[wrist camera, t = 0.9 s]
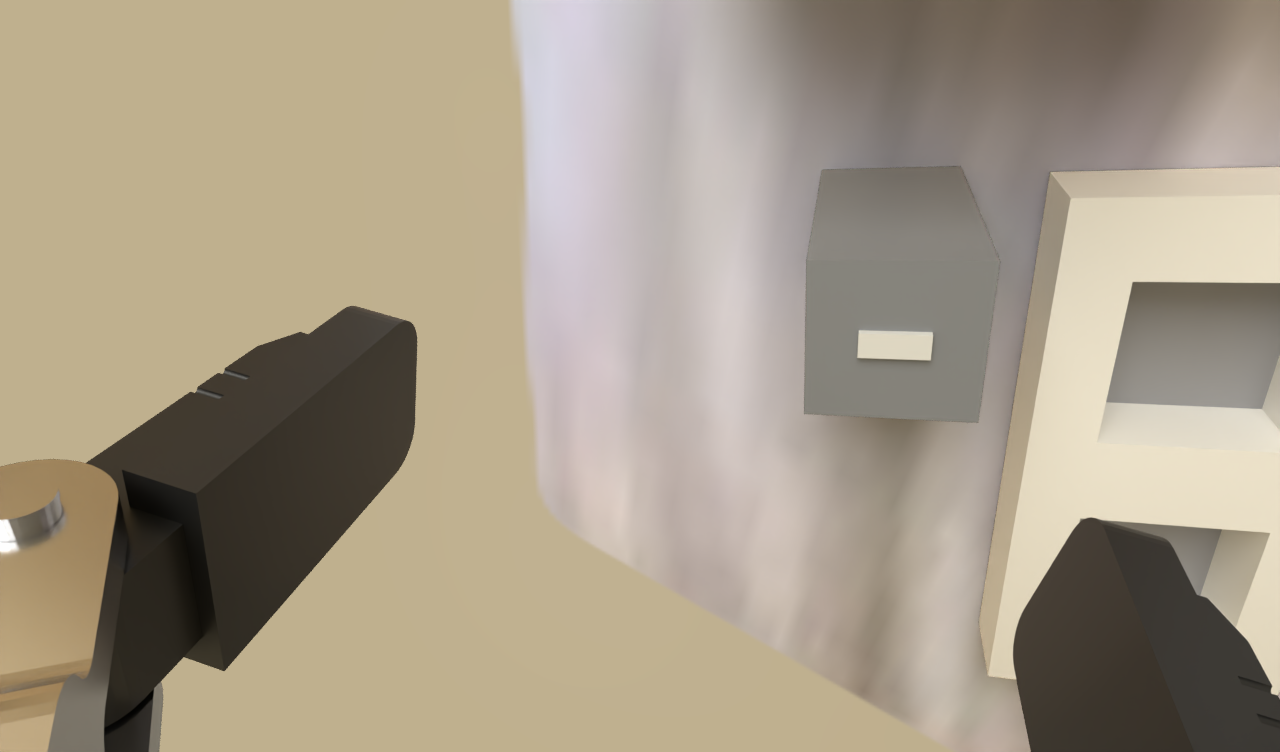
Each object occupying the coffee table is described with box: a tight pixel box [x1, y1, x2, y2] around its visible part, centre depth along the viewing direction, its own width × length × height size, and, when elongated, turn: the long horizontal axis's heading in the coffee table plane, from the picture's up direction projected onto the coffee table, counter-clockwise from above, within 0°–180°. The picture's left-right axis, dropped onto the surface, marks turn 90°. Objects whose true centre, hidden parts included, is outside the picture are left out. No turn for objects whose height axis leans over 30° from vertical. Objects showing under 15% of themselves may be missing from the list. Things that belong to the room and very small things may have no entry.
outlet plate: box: [979, 167, 1280, 695], centre depth 28 cm, size 10×20×3 cm, turn 6°
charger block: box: [804, 166, 1000, 423], centre depth 24 cm, size 4×4×9 cm
